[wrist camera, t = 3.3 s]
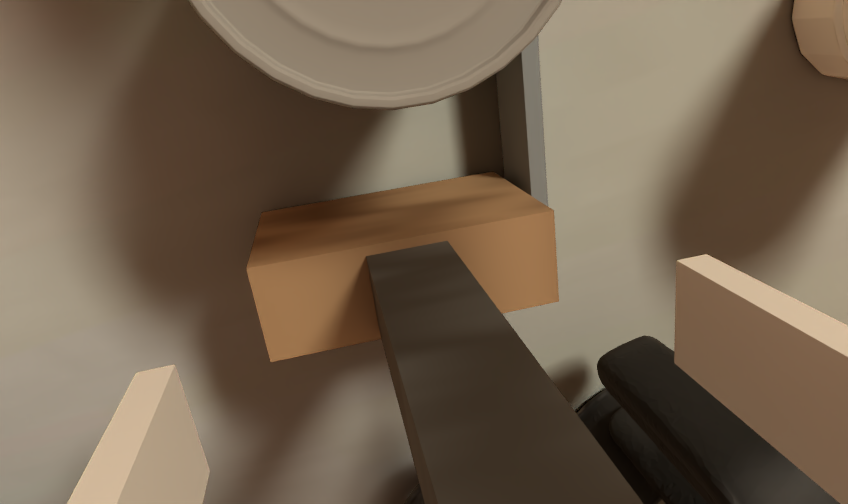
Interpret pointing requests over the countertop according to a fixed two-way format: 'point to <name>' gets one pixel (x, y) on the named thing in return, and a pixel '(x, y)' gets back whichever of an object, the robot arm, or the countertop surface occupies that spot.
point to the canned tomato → (377, 44)
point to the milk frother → (681, 437)
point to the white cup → (823, 34)
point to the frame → (523, 123)
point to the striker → (439, 330)
